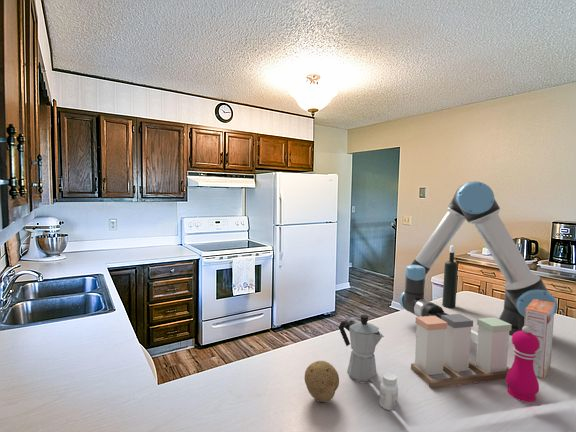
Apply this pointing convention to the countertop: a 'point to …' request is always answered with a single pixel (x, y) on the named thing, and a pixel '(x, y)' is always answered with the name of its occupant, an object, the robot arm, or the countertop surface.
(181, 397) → the countertop surface
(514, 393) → the pepper mill
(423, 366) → the orange lidded canister
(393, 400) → the pill bottle
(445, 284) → the wine bottle
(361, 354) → the coffee maker
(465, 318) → the gray lidded canister
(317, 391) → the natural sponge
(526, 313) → the cracker box
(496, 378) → the wooden stand
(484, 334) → the green lidded canister
